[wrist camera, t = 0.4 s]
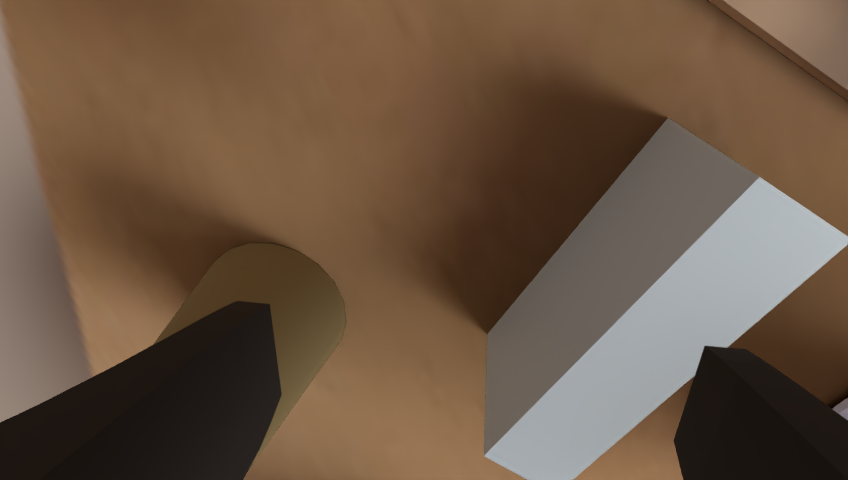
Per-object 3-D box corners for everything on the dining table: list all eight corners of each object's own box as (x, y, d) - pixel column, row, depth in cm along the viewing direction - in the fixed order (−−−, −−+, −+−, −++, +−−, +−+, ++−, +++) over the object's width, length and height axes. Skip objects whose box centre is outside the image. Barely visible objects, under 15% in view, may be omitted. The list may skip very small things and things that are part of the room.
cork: (323, 233, 18) (129, 494, 9) (361, 362, 21) (243, 680, 11) (181, 251, 20) (-134, 498, 10) (232, 371, 22) (22, 667, 12)
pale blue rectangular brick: (667, 117, 15) (759, 176, 10) (729, 159, 16) (853, 240, 10) (487, 332, 20) (484, 456, 14) (539, 362, 20) (555, 494, 15)
